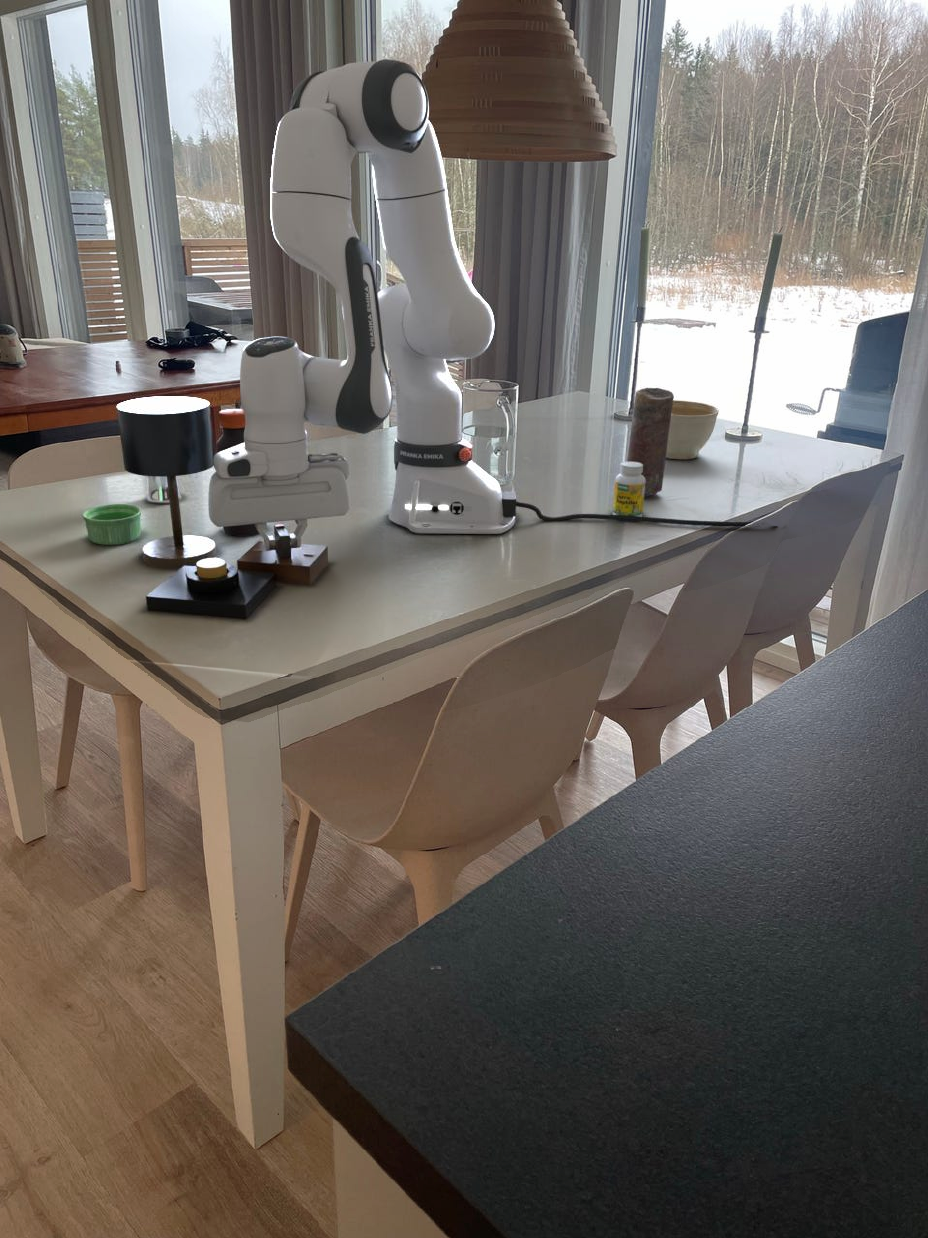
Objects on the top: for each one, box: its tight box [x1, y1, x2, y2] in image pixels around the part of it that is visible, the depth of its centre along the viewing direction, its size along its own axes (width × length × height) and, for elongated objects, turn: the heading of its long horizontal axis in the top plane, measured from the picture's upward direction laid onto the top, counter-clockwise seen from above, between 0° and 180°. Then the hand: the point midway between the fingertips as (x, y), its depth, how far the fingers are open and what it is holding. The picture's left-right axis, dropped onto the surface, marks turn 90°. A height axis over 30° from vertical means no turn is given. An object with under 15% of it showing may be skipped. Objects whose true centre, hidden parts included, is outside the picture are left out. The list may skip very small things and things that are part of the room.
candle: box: [626, 387, 675, 497], centre depth 178 cm, size 8×7×20 cm
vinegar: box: [215, 408, 265, 537], centre depth 153 cm, size 7×7×20 cm
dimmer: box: [236, 540, 329, 586], centre depth 139 cm, size 11×9×3 cm
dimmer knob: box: [273, 523, 291, 559], centre depth 138 cm, size 5×2×4 cm, turn 21°
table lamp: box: [115, 395, 217, 569], centre depth 140 cm, size 13×13×24 cm
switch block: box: [145, 563, 278, 621], centre depth 129 cm, size 14×12×4 cm
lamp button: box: [196, 557, 227, 578], centre depth 128 cm, size 4×4×2 cm
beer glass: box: [146, 476, 182, 505], centre depth 169 cm, size 7×7×15 cm
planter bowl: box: [666, 399, 720, 461], centre depth 209 cm, size 16×16×11 cm
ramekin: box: [82, 503, 142, 546], centre depth 151 cm, size 9×9×4 cm
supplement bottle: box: [612, 461, 646, 517], centre depth 167 cm, size 5×5×10 cm
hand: (282, 548), depth 138 cm, fingers closed
